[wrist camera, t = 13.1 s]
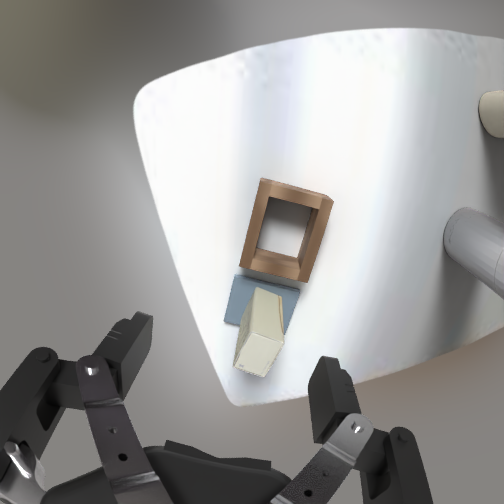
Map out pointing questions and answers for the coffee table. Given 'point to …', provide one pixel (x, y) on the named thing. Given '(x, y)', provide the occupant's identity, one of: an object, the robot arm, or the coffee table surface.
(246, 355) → the skincare box
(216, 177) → the coffee table surface
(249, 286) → the pad
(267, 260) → the pocket block
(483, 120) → the travel mug
